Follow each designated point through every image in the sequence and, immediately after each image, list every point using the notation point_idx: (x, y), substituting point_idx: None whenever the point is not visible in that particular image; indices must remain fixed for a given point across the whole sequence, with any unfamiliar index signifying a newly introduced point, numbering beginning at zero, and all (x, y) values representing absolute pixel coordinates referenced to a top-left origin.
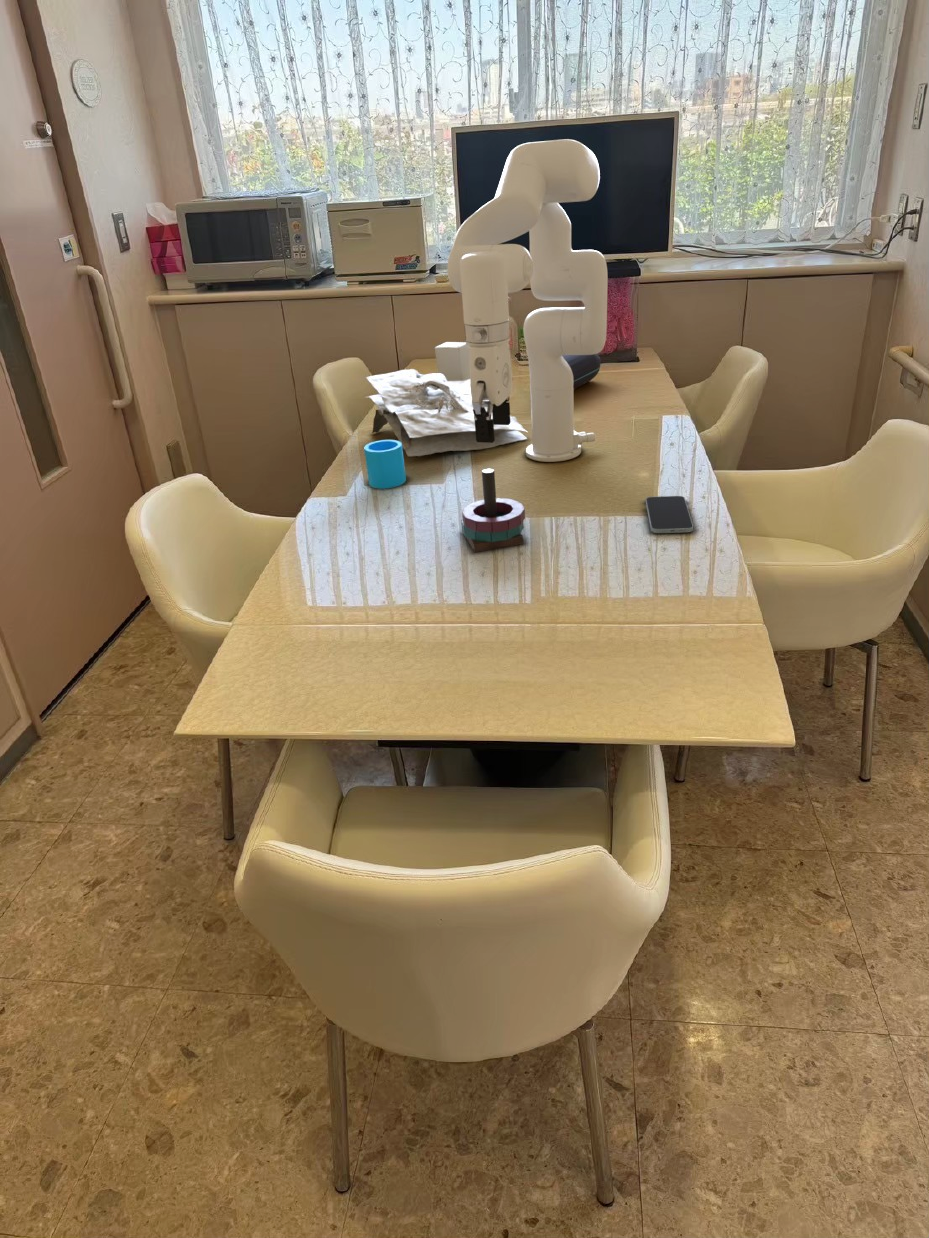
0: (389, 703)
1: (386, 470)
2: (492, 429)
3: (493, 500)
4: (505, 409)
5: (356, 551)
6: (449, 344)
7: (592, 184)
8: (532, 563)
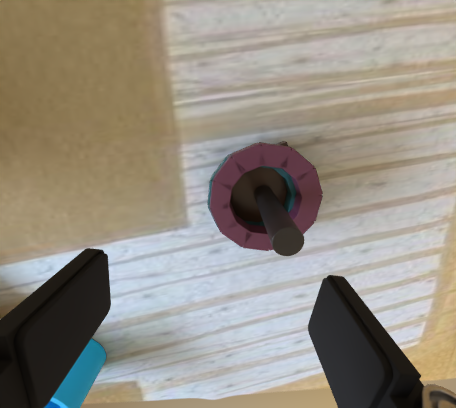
0: None
1: (87, 373)
2: (374, 321)
3: (282, 205)
4: (53, 318)
5: (293, 335)
6: None
7: None
8: (354, 115)
